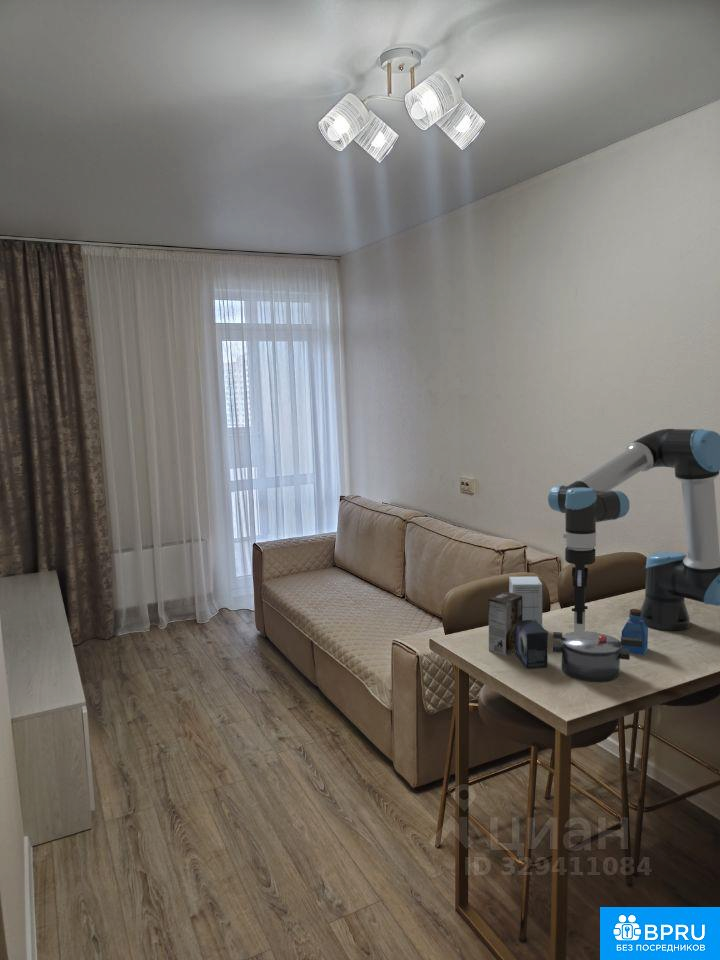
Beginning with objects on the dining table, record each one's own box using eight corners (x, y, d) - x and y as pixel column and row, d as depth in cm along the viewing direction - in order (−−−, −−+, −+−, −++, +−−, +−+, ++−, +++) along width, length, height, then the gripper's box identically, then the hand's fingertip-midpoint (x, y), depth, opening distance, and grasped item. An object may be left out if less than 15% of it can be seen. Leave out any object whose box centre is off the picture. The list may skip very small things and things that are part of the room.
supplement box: (538, 626, 215) (538, 576, 213) (543, 636, 206) (543, 584, 203) (508, 625, 216) (508, 575, 214) (512, 636, 207) (512, 584, 204)
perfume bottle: (643, 655, 189) (645, 615, 187) (621, 651, 192) (622, 612, 191) (647, 648, 194) (648, 609, 193) (625, 644, 197) (626, 606, 196)
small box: (513, 654, 192) (513, 620, 191) (535, 653, 192) (535, 618, 191) (525, 669, 181) (525, 632, 180) (548, 668, 182) (549, 631, 181)
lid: (640, 638, 182) (640, 630, 182) (643, 658, 167) (643, 649, 167) (555, 630, 190) (555, 622, 190) (551, 649, 175) (551, 640, 174)
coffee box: (504, 642, 202) (504, 591, 200) (523, 647, 197) (523, 595, 195) (487, 650, 195) (487, 598, 193) (506, 656, 191) (506, 602, 189)
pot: (627, 662, 184) (628, 638, 184) (629, 686, 169) (630, 660, 168) (554, 654, 191) (555, 631, 190) (550, 677, 176) (551, 652, 175)
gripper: (566, 541, 179) (566, 624, 182) (563, 552, 167) (563, 641, 170) (595, 542, 176) (594, 626, 179) (595, 554, 164) (594, 644, 167)
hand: (579, 633), depth 175 cm, fingers closed
